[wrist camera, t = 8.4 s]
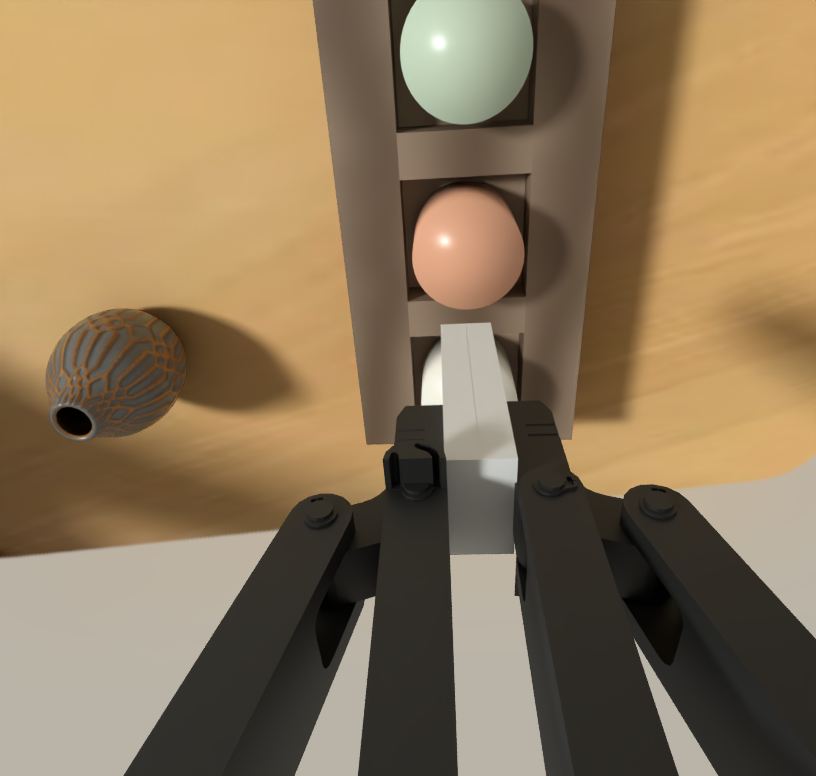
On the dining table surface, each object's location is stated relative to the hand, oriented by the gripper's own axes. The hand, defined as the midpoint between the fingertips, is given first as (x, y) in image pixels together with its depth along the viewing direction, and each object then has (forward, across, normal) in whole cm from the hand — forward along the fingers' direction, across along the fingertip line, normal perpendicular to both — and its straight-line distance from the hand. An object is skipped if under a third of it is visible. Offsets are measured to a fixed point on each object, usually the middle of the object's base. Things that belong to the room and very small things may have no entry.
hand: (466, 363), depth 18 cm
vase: (+17, -19, -7) cm, 27 cm away
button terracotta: (+14, +1, 0) cm, 14 cm away
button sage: (+14, +1, +8) cm, 16 cm away
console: (+16, +1, 0) cm, 16 cm away
